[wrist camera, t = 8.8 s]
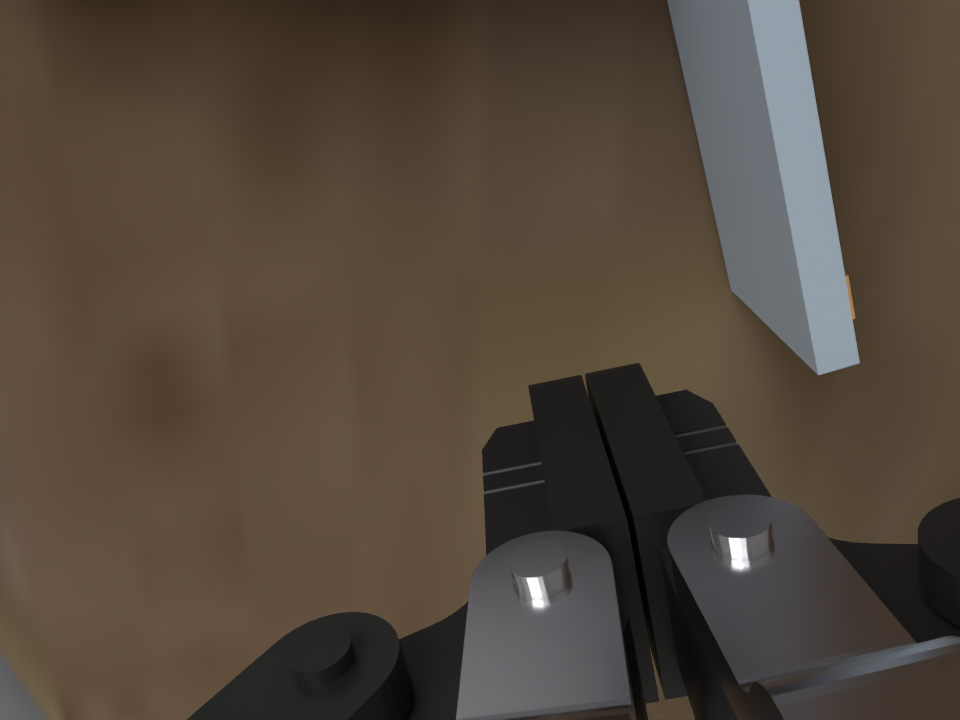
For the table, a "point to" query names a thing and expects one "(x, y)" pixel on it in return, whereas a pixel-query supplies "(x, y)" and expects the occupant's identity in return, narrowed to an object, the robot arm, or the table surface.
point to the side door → (768, 170)
